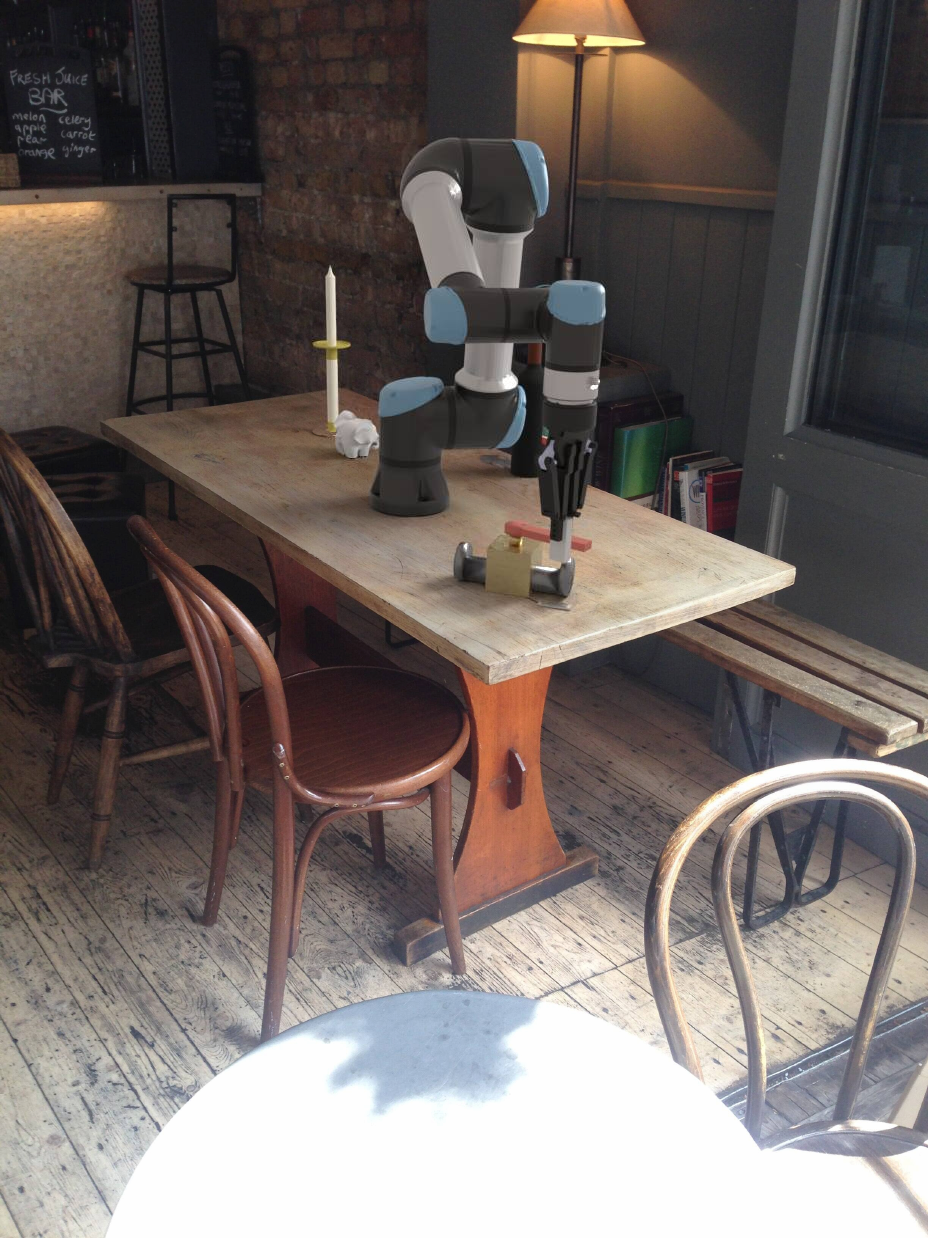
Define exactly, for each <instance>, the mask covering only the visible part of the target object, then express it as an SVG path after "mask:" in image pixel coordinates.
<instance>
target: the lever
mask: <svg viewBox="0 0 928 1238" xmlns="http://www.w3.org/2000/svg"><path fill="white" fill-rule="evenodd" d="M503 532H504V534H505V535H508V536H509V535H511V536H522V538H529V539H534V540H538V541H542V542H543V543H546V544H550V529H547V528H542V527H538V526H534V525H530V524H528V523H527V522H524V521H519V520H512V521H511V520H510V521H506V522H505V523H504V530H503ZM592 543H593V540H591V539H587V538H585V537H584V538H583V537H579V536H575V535H572V538H571V550H575V551H578V552H582V553H586V552H588V551H589V550H591V549H592V545H593V544H592Z"/></svg>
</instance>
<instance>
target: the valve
mask: <svg viewBox="0 0 928 1238" xmlns="http://www.w3.org/2000/svg"><path fill="white" fill-rule="evenodd" d="M543 548H544V542H542V541H538V540H534V539H530V538H526V537H522V536H511V535H507V534H499V535H498V536H497V537H496V538H495V539H494V540H493V542H491V544H490V545H488V547H487V548H486V556H477V555H474V554H473V553H474V550H473V545H472V543H471V542H469V541H460V542H459V543H458V545H457V547H456V550H455V553H454V557H453V558H454V559H453V570H452V571H453V576H454V579H456V580H460V581H469V582H470V581H471V582H477V583H483V584H485V589H484V591H485V592H489V593H495V594H503V595H508V596H516V597H521V598H527V599H530V597H531V596H532V594H533V593H534V591H535V592H540V593H541V592H542V593H548V594H555V595H559V596H563V597H569V596H570V594H571V592H572V589H573V585H574V580H575V574H576V560H575V558H574V557H571V556H570V561H568V562H566V563H562V562H560V563H561V564H560V568H559V567H552V566H547V565H543V550H544V549H543ZM536 605H537V606H539V607H547V608H552V609H553V608H554V609H558V610H564V611H565V610H566V611H571V609H572V607H573V604H572V603H571V604H570V603H563V602H558V601H552V600H551V601H550V600H547V599H546V600H545V599H544V600H543V599H539V600H538V602H537V603H536Z"/></svg>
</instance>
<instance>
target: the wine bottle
mask: <svg viewBox="0 0 928 1238" xmlns="http://www.w3.org/2000/svg"><path fill="white" fill-rule="evenodd" d="M542 353H543V343H528V349H527V363H526V367H525V368H524V369H523V370H521V371H520V372H518V374H517V375H516V377H517V379H518V385H519V386H521V387H522V388H523V390H524V392H525V396H526V405H525V409H526V415H525V421H524V426H523V430H522V432H521V435H520V437H519V439H518V440H517V442H516V443H515V444H513V445H512V446H511V450H510V451H511V453H510V454H511V455H510V474H511V475H513V476H516V477H520V478H531V479H532V478H533V479H534V478H538V470H537V467H536V465H535V462H534V457H535V455H536V454H539V455H542V454H543V453H544V451H545V450H546V440H547V437H548V430H547V428H546V427H544V426H543V425H542V405H543V401H544V399H545V398H547V397H546V396H545V395H544V394H543V384H544V370H545V369H544V368H543V366H542Z"/></svg>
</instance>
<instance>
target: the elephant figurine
mask: <svg viewBox="0 0 928 1238" xmlns="http://www.w3.org/2000/svg"><path fill="white" fill-rule="evenodd" d="M334 427H335V430H336V431H337V433H336V435H333V436H335V437H334V444H335V448H336V450H337V452H339V453H345V454H346V455H345V456H346V458H347V457H349V458H356V457H357V458H358V456H359V457H361V456H367V457H368V456H369V452H370V451H369V450H370V449H372V450H377V449H378V450H379V433H378V432H377V427H376V426H375V425H374V424H373V423H372V421H371V420H370V419H366V418H363V419H362V418H360V417H359V418H357V416H356V415H355V414H354V413H353V412H351V411H349V410H343V411H341V412H340V413H338V417H337V419H336V421H335V423H334ZM339 453H338V454H339ZM349 458H348V459H349ZM357 458H356V459H357Z"/></svg>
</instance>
